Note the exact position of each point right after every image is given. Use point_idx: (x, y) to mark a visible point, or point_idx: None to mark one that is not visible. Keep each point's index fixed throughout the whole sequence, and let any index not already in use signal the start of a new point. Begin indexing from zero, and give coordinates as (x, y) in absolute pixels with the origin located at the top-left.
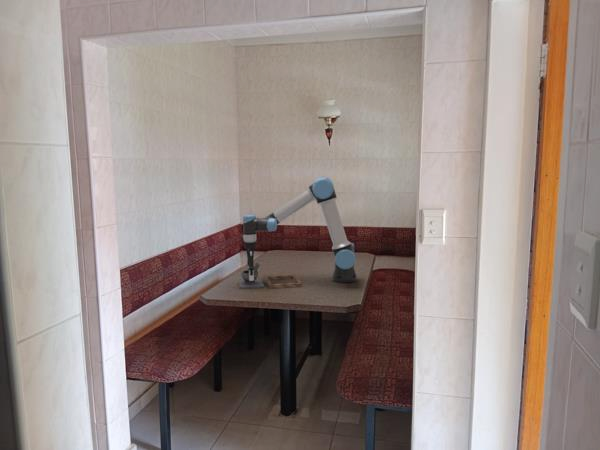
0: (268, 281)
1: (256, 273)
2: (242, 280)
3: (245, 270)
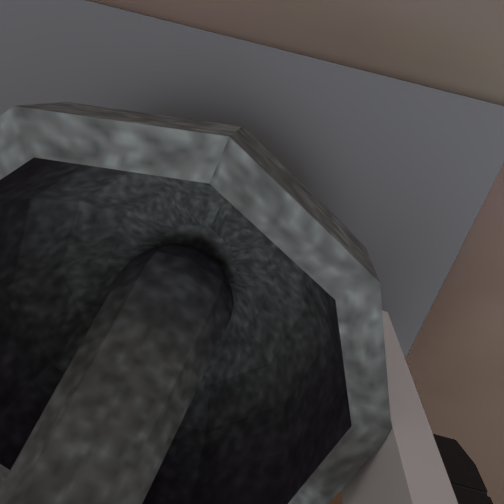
0: None
1: (11, 455)
2: (473, 193)
3: (377, 351)
